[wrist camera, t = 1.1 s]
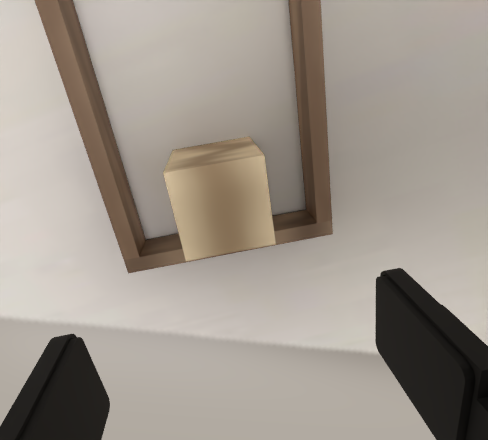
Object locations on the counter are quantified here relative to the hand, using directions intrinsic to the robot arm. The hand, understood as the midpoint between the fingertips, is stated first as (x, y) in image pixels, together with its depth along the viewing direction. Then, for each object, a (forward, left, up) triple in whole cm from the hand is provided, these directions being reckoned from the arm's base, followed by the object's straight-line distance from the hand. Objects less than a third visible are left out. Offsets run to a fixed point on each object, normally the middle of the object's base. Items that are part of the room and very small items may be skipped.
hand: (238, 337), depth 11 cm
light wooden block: (0, 0, -18) cm, 18 cm away
